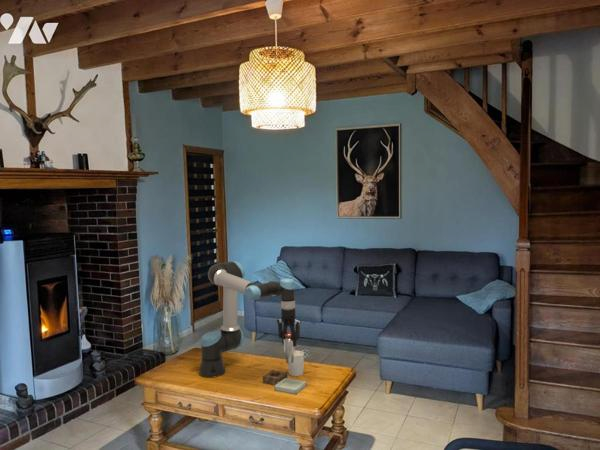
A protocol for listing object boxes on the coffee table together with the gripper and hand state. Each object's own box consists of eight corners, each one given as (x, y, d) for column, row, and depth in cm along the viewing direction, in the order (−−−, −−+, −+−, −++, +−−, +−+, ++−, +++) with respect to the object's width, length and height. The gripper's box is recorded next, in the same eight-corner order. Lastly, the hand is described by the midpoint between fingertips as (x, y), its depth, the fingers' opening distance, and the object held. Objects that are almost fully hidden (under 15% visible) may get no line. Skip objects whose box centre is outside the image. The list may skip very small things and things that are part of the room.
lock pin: (283, 362, 244) (282, 334, 243) (288, 360, 248) (287, 331, 247) (291, 364, 241) (290, 335, 241) (296, 361, 246) (295, 332, 245)
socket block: (262, 383, 254) (262, 376, 254) (272, 376, 263) (272, 370, 262) (278, 386, 249) (278, 378, 249) (287, 379, 258) (287, 372, 258)
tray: (274, 390, 243) (274, 385, 243) (285, 382, 254) (285, 377, 254) (295, 394, 237) (295, 390, 237) (306, 386, 248) (306, 381, 248)
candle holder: (302, 377, 261) (302, 356, 260) (286, 376, 263) (285, 355, 262) (306, 370, 271) (305, 350, 270) (289, 370, 273) (289, 350, 272)
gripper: (270, 308, 244) (272, 351, 245) (299, 311, 236) (300, 355, 237) (278, 305, 251) (279, 347, 252) (305, 307, 243) (307, 351, 244)
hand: (289, 351), depth 244 cm, fingers closed on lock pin, 4 cm apart
